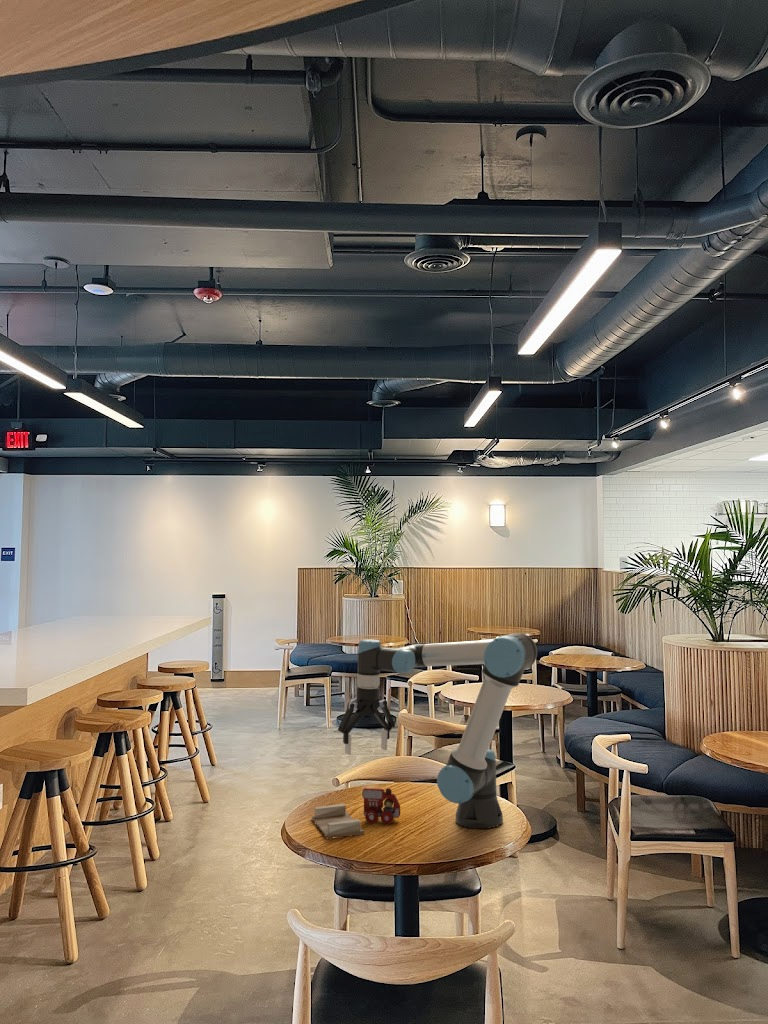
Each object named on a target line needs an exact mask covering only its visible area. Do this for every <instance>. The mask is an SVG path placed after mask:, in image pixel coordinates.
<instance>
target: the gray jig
mask: <svg viewBox="0 0 768 1024" xmlns="http://www.w3.org/2000/svg"><path fill="white" fill-rule="evenodd" d="M346 807H347V806H346V804H345V803H339V804H331V805H324V806H315V807H314V816H311V820H312V819H313V821H314V822H315V823H316V825H317V826H318V827H319V829H320V830H321V831H322V833H323V834H324V835H325V837H326V838H333V837H341V838H344V837H343V836H348V837H351V836H350V835H355V836H360V835H364V834H365V830H364V829H363V828H362V827H361V820H360V819H359V818H356V819H355V818H354V819H353V817H352V816H351V815H350V814H349V813H348V812H347V810H346ZM313 821H312V822H313ZM314 822H313V823H314ZM315 823H314V824H315ZM316 825H315V826H316ZM317 826H316V827H317ZM318 827H317V828H318ZM319 829H318V830H319ZM320 830H319V831H320ZM321 831H320V832H321ZM322 833H321V834H322ZM323 834H322V835H323ZM324 835H323V836H324ZM325 837H324V838H325ZM326 838H325V839H326Z"/></svg>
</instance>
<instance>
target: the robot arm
mask: <svg viewBox="0 0 768 1024" xmlns="http://www.w3.org/2000/svg"><path fill="white" fill-rule="evenodd" d="M357 648H358V649H357V674H356V675H357V677H356V678H357V679H356V686H357V688H356V702H351V701H348V703H347V708H346V710H345V713H344V714H343V717H342V719H341V721H340V724H339V726H338V728H337V731H338V732H339V733H342V734H343V735H342V742H343V744H344V753H345V754H346V755H349V756H350V755H351V754H352V734H351V731H352V730H353V729H354V727H355V726H356V724H357V723H358V721H359V720H360V719H361V718H362V717H367V716H375V718H376V719H377V721H378V722H379V723H380V724H381V726H382V727H383V728H381V735H380V736H381V737H380V738H381V740H380V741H381V743H380V745H381V746H380V749H381V750H384V751H387V750H388V740H390V731H392V728H395V727H396V724H395V721H394V719H393V716H392V714H391V713H390V709H389V707H388V706H389V705H388V701H387V700H386V699H380V687H379V686H380V683H381V682H380V680H381V679H380V678H381V677H380V676H381V671H386V672H391V673H398V674H410V673H412V671H413V670H414V668H423V667H426V668H427V667H442V666H447V667H448V666H468V665H483V667H482V670H481V672H482V675H483V676H484V679H483V680H482V681H483V682H482V684H481V687H480V689H479V692H478V695H477V696H476V697H477V698H476V700H475V702H474V705H473V708H472V710H471V713H470V716H469V719H468V721H467V724H466V726H465V728H464V732H463V734H462V736H461V739H460V743H459V745H458V746H457V747H455V748H453V749H451V752H450V754H449V758H448V759H447V762H446V765H444V766H442V768H441V769H440V770H439V772H438V775H437V777H436V784H437V787H438V790H439V792H440V794H441V796H442V797H443V798H445V800H446V801H449V802H450V803H454V804H458V805H457V807H456V810H455V811H456V812H455V823H456V822H457V823H458V824H457V823H456V824H457V825H459V826H461V827H463V826H464V827H465V828H467V827H469V828H468V829H473V828H488V829H490V828H489V827H493V826H497V825H500V824H501V823H502V822H503V823H504V815H503V812H502V809H501V807H500V802H499V800H498V795H497V764H496V763H497V760H496V754H495V752H494V750H492V749H489V748H490V745H491V743H492V741H493V738H494V735H495V732H496V730H497V727H498V724H499V722H500V719H501V718H502V714H503V712H504V708H505V707H506V704H507V702H508V698H509V696H510V694H511V691H512V689H515V688H517V687H518V686H519V685H520V682H521V680H522V677H523V674H524V671H525V670H527V669H530V667H532V665H534V663H535V662H536V660H537V657H538V647H537V644H536V642H535V641H534V639H533V638H532V637H530V636H529V635H527V634H525V633H523V632H514V633H509V634H504V635H498V636H496V637H495V638H494V639H485V640H469V641H455V642H452V641H451V642H441V643H440V642H439V643H438V642H437V643H435V642H434V643H423V644H422V643H412V644H409V645H406V646H399V647H395V648H394V647H393V648H392V647H384V646H383V647H382V644H381V641H380V640H377V639H372V638H371V639H370V638H369V639H366V638H365V639H361V640H360V641H359V642H358V647H357ZM379 699H380V700H379ZM379 707H380V708H381V711H382V713H383V715H384V717H383V715H382V714H381V712H380V711H379V710H378V709H379ZM354 710H355V712H354ZM353 713H354V714H353ZM503 823H502V824H503ZM502 824H501V825H502ZM501 825H500V826H501ZM497 827H498V826H497Z"/></svg>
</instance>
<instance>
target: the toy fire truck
mask: <svg viewBox="0 0 768 1024" xmlns="http://www.w3.org/2000/svg"><path fill="white" fill-rule="evenodd" d="M361 793H362V798H363V816H364V818H365V821H366V823H368V824H370V825H373V824H375V823H377V822H378V820H379V818H380V820H381V823H382V824H384V825H391V824H392V823H393V821H394V819H398V818H399V817H400V816H401V805H400V802H399V800H398V799H397V796H396V794H395V793H392V789H391V788H390V787H387V788H386V789H384V788H373V787H372V788H371V787H369V788H367V787H364V788H363V789H362V791H361Z"/></svg>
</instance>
